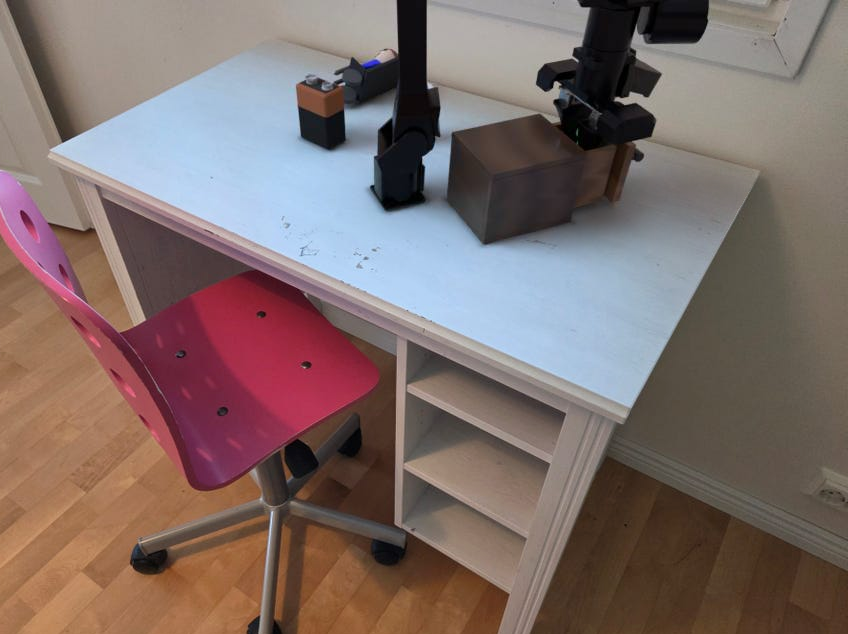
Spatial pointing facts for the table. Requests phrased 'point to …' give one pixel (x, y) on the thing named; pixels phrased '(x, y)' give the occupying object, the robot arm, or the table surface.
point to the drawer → (605, 171)
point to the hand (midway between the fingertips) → (578, 158)
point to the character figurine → (369, 77)
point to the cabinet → (513, 177)
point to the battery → (321, 111)
